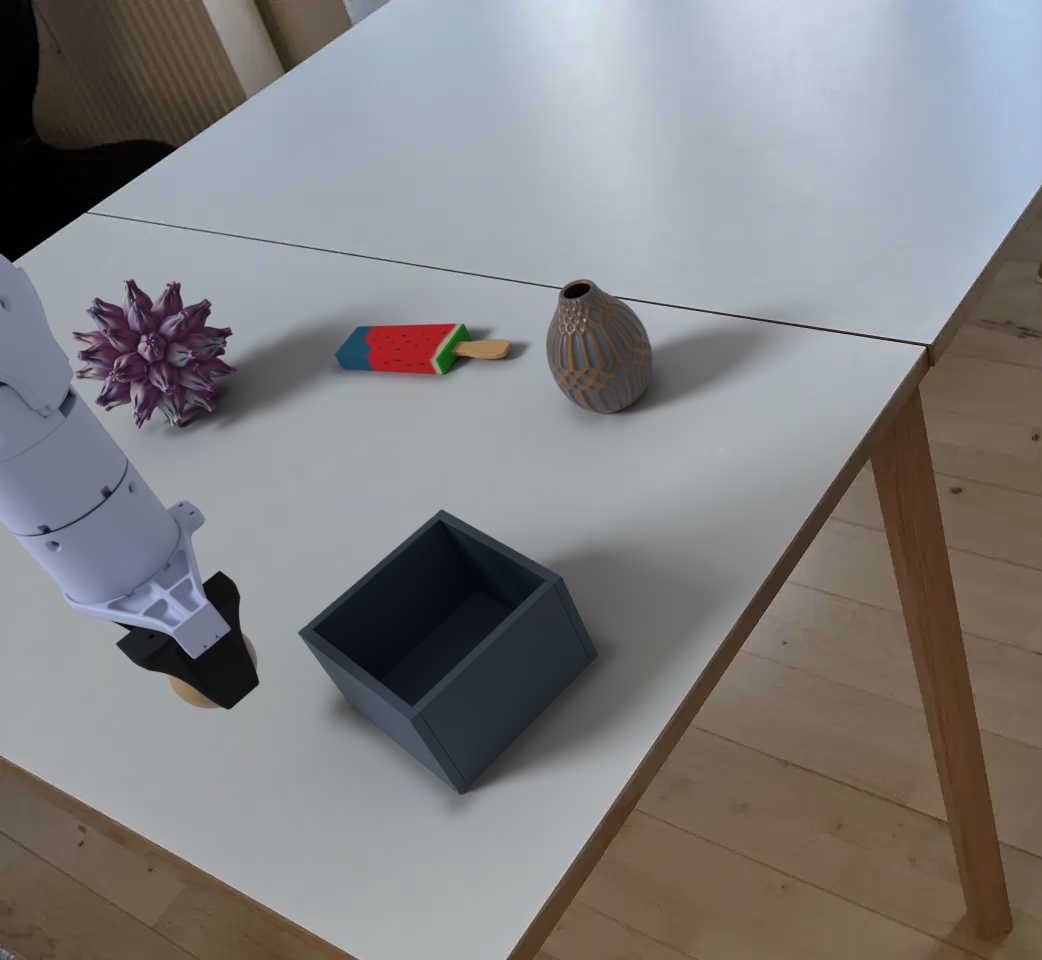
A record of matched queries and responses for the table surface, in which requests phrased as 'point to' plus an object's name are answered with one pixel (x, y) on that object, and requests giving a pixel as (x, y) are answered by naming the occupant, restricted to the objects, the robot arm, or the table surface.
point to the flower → (153, 353)
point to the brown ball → (196, 697)
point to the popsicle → (414, 348)
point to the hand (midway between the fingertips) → (220, 674)
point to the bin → (452, 646)
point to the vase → (597, 349)
